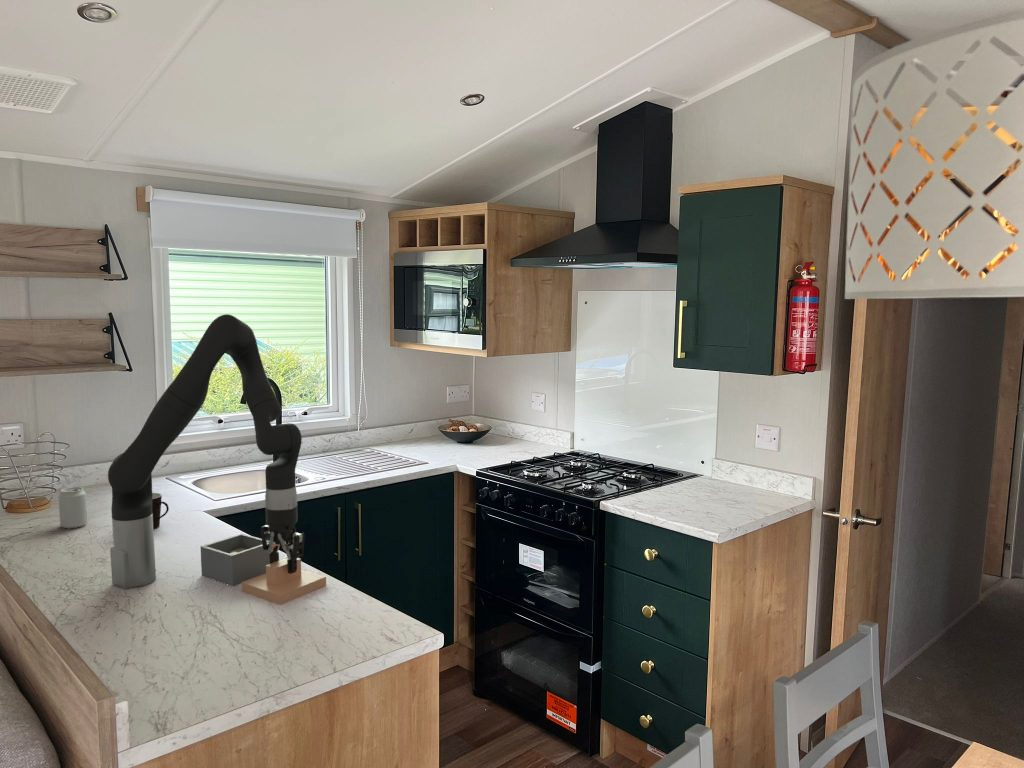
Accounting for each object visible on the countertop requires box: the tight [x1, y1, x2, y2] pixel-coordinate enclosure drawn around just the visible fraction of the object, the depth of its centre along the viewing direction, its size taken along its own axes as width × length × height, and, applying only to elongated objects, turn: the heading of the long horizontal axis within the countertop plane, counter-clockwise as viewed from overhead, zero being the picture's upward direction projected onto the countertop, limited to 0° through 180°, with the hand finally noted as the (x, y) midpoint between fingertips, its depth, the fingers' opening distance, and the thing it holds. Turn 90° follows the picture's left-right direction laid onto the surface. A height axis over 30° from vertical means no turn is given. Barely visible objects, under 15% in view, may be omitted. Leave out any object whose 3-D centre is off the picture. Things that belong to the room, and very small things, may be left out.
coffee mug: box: [152, 492, 170, 530], centre depth 238 cm, size 12×9×10 cm
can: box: [57, 486, 89, 530], centre depth 240 cm, size 8×8×12 cm
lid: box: [240, 557, 327, 605], centre depth 191 cm, size 14×14×7 cm
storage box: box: [200, 533, 270, 587], centre depth 200 cm, size 13×13×8 cm
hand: (283, 569), depth 190 cm, fingers open, 6 cm apart
